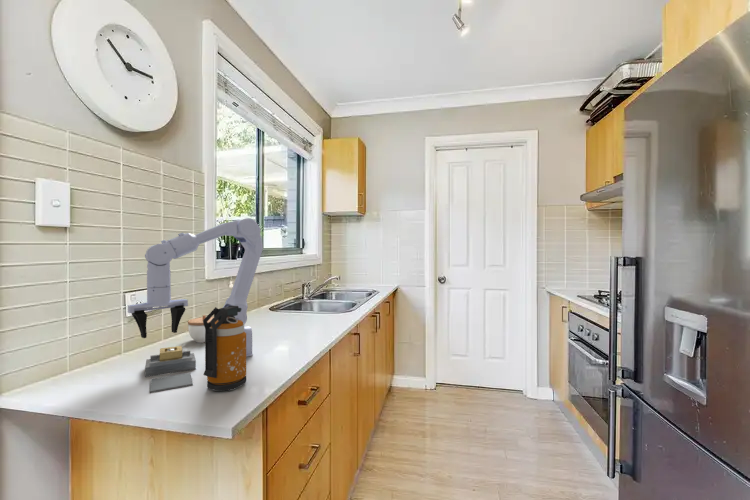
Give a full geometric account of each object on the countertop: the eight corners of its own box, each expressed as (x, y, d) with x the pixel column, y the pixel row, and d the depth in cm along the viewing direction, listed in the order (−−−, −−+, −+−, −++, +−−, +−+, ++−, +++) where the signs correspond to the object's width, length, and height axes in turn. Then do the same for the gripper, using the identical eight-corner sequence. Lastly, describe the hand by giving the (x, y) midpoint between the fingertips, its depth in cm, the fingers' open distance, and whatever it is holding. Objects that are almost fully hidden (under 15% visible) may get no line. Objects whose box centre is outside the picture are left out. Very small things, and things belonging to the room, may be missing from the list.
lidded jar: (198, 346, 121) (198, 319, 121) (181, 341, 127) (181, 316, 127) (225, 339, 130) (225, 314, 130) (209, 335, 136) (209, 311, 136)
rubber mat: (190, 374, 94) (190, 372, 94) (192, 385, 87) (192, 383, 87) (151, 380, 90) (151, 378, 90) (149, 392, 82) (149, 391, 82)
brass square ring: (181, 355, 102) (181, 345, 102) (182, 361, 97) (182, 350, 97) (159, 358, 99) (159, 348, 99) (159, 364, 95) (159, 353, 95)
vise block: (193, 361, 105) (193, 343, 105) (195, 369, 98) (195, 349, 98) (146, 368, 99) (146, 349, 99) (145, 377, 92) (145, 356, 92)
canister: (253, 381, 89) (254, 304, 89) (221, 399, 79) (221, 311, 78) (225, 377, 92) (226, 302, 92) (191, 393, 81) (191, 309, 81)
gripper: (181, 283, 106) (181, 328, 106) (124, 288, 95) (124, 337, 95) (190, 285, 101) (191, 331, 101) (131, 290, 90) (132, 342, 90)
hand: (159, 334), depth 98 cm, fingers open, 7 cm apart
